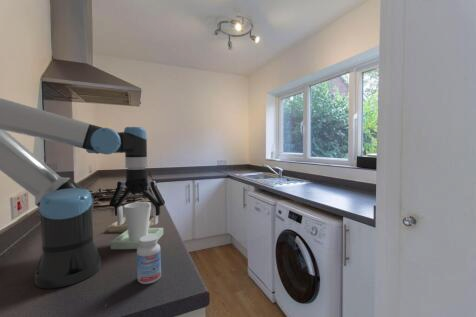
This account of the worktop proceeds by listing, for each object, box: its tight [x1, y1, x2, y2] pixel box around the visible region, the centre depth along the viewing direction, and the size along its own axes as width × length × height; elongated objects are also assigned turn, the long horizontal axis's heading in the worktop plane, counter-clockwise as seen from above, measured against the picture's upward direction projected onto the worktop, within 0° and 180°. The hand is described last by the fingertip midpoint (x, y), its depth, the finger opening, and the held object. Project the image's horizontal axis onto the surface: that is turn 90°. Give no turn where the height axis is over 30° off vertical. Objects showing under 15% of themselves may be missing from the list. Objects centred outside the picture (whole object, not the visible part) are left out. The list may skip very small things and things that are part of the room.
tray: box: [109, 227, 164, 250], centre depth 87 cm, size 14×14×2 cm
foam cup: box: [123, 201, 152, 241], centre depth 86 cm, size 10×9×13 cm
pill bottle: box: [136, 235, 162, 285], centre depth 62 cm, size 6×6×11 cm
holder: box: [107, 214, 154, 233], centre depth 104 cm, size 16×16×2 cm
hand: (138, 224), depth 86 cm, fingers open, 13 cm apart
